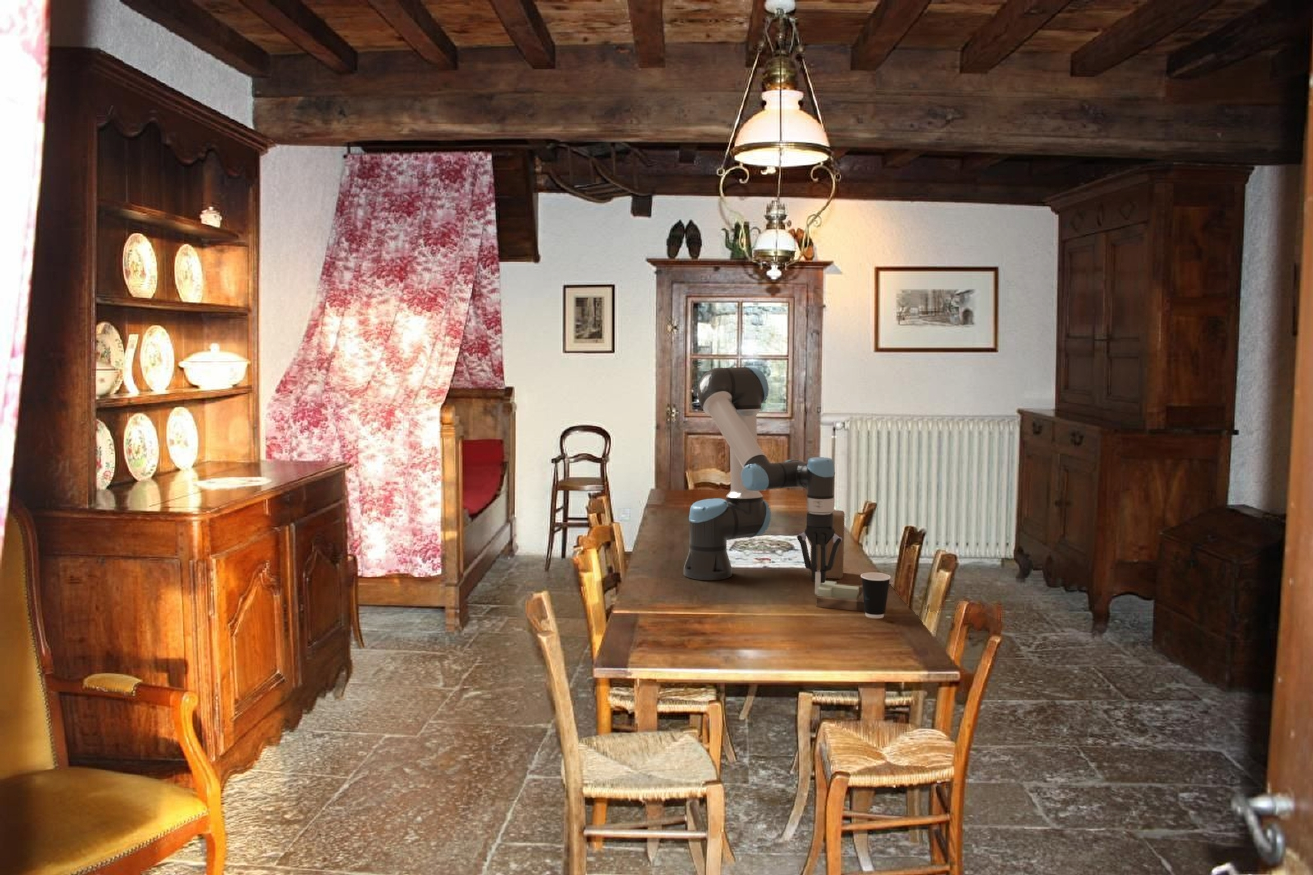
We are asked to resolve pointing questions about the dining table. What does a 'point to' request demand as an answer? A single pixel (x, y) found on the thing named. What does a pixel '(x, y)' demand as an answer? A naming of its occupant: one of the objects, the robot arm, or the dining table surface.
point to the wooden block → (838, 562)
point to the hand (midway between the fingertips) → (818, 593)
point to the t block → (838, 590)
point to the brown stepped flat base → (842, 601)
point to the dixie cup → (875, 593)
